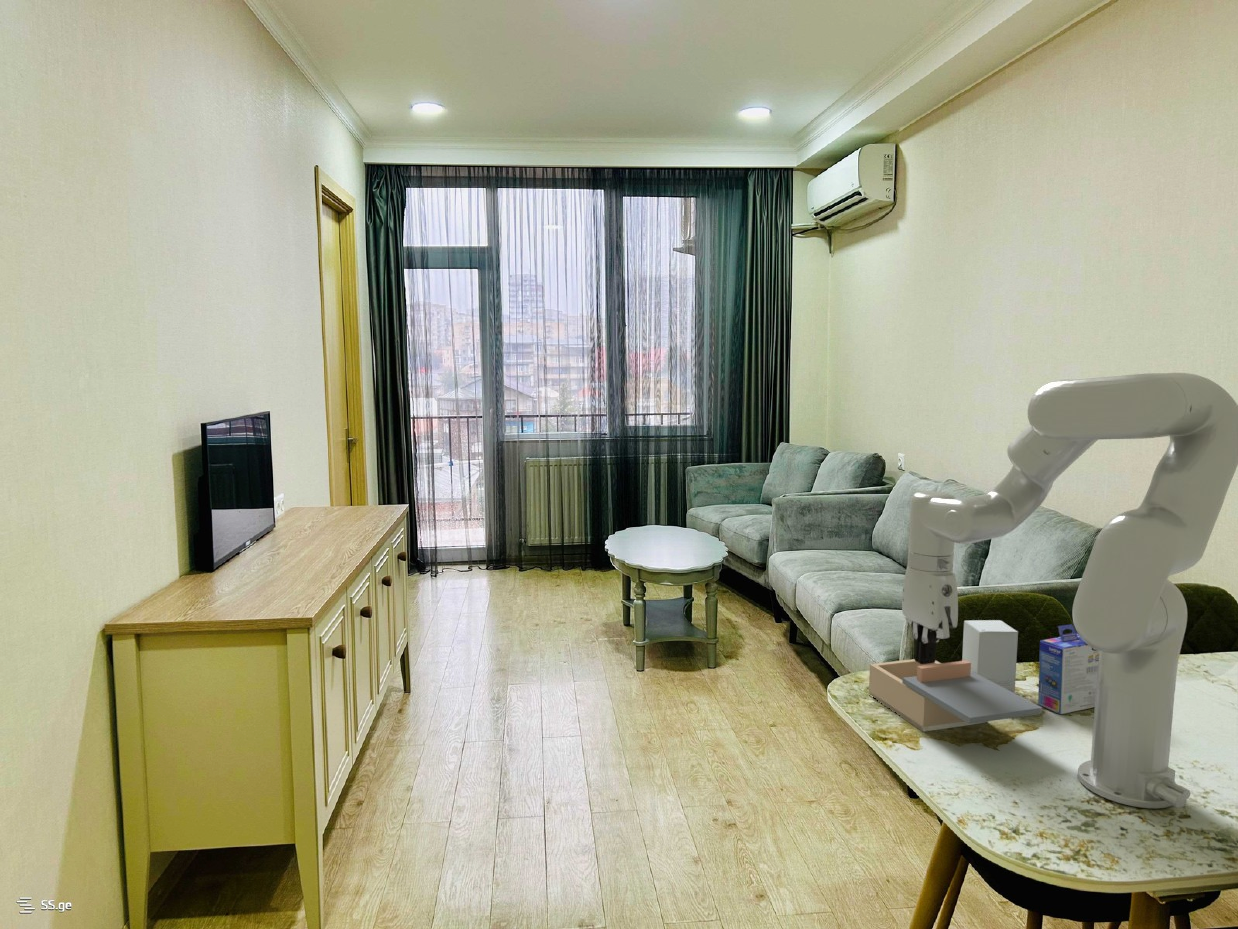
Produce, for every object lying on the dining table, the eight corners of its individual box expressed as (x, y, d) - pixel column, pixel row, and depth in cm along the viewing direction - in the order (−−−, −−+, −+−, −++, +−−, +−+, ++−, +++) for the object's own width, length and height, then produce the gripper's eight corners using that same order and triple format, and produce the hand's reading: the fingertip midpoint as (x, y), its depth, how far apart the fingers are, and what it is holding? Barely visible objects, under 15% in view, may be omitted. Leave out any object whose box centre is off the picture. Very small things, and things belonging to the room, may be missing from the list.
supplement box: (1015, 698, 153) (1019, 631, 151) (975, 697, 153) (978, 631, 151) (998, 682, 160) (1001, 619, 158) (959, 682, 160) (963, 619, 158)
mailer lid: (1041, 713, 131) (1043, 693, 130) (969, 724, 127) (970, 702, 126) (968, 675, 147) (969, 656, 146) (902, 683, 143) (903, 664, 143)
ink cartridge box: (1074, 695, 154) (1079, 620, 152) (1101, 707, 148) (1106, 629, 147) (1034, 703, 150) (1039, 626, 148) (1060, 715, 145) (1066, 635, 143)
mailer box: (987, 722, 142) (989, 689, 141) (922, 731, 138) (924, 697, 138) (928, 687, 157) (929, 657, 157) (868, 695, 154) (869, 664, 153)
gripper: (977, 570, 139) (971, 675, 142) (921, 551, 153) (916, 646, 156) (939, 573, 137) (933, 679, 139) (886, 553, 151) (882, 650, 154)
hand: (924, 661), depth 148 cm, fingers closed
